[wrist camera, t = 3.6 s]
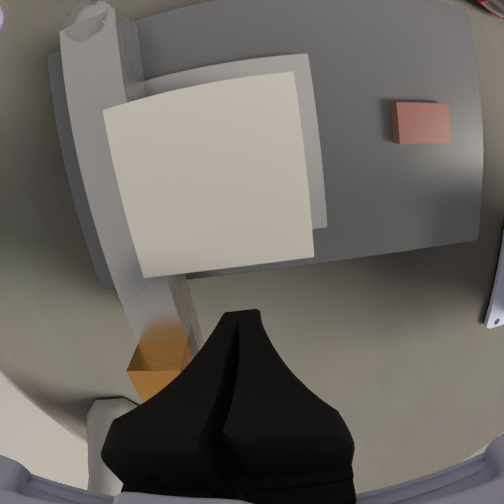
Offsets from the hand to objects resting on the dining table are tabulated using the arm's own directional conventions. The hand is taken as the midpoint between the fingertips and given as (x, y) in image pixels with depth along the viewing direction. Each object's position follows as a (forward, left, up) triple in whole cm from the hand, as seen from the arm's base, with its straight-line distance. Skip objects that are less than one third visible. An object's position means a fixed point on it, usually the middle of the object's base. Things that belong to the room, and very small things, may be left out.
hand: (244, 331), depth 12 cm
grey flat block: (-2, -7, -4) cm, 9 cm away
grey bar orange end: (+3, -5, -2) cm, 6 cm away
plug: (0, -6, -4) cm, 8 cm away
